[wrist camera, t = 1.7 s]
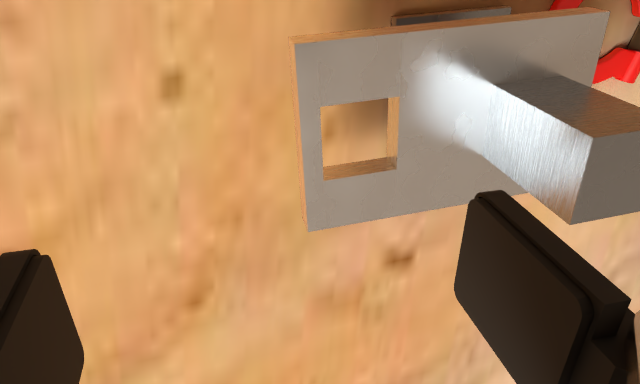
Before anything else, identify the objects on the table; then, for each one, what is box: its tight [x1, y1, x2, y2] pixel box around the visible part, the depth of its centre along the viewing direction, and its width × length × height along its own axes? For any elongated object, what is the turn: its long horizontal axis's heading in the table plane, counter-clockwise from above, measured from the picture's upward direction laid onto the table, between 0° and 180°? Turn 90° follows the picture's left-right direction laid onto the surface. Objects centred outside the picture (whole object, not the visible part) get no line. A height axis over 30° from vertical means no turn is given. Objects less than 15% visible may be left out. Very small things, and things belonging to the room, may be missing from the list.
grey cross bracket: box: [288, 6, 640, 232], centre depth 25 cm, size 10×16×16 cm, turn 93°
